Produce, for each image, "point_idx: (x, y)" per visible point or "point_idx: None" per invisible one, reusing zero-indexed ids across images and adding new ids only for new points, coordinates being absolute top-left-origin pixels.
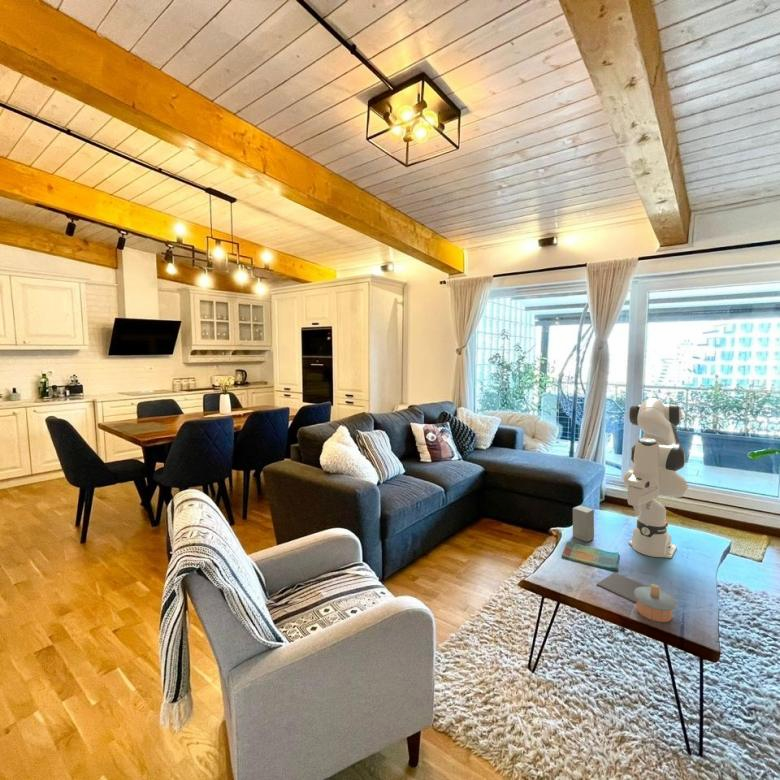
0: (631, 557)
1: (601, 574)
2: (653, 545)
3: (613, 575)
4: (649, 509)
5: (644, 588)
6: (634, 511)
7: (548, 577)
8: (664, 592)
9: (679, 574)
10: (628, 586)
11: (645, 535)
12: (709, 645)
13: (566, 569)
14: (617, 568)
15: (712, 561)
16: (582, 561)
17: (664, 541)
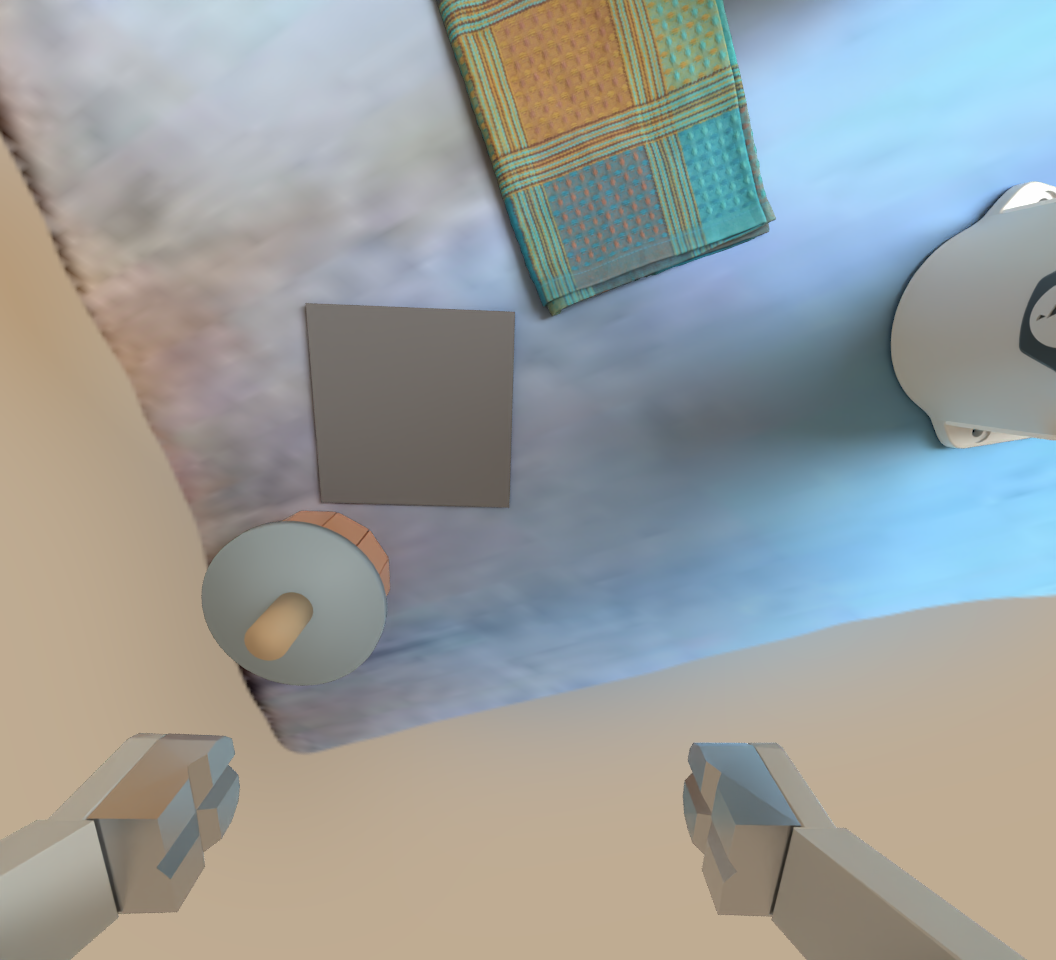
0: (799, 290)
1: (442, 265)
2: (968, 372)
3: (473, 323)
4: (692, 825)
5: (327, 552)
6: (86, 782)
7: (112, 49)
8: (378, 622)
9: (774, 531)
10: (427, 426)
11: (1028, 316)
12: (295, 748)
13: (308, 76)
14: (553, 310)
15: (1046, 585)
16: (475, 101)
17: (1034, 427)
